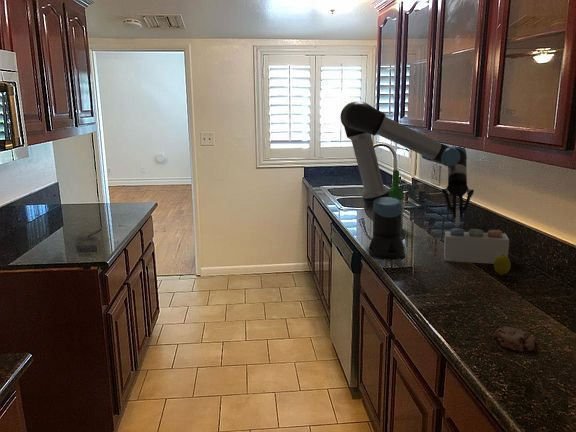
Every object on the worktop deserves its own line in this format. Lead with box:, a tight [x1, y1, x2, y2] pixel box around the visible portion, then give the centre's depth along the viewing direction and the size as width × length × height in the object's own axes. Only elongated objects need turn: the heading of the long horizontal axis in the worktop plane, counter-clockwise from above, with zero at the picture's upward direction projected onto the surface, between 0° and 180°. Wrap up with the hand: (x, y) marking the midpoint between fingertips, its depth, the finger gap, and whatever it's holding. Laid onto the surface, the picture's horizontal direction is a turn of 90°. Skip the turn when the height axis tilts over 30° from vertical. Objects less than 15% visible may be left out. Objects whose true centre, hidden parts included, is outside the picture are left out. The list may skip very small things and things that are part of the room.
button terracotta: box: [487, 229, 503, 238], centre depth 181 cm, size 5×5×6 cm
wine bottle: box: [388, 169, 404, 230], centre depth 231 cm, size 8×8×30 cm
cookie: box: [493, 326, 537, 353], centre depth 120 cm, size 10×11×3 cm
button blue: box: [450, 227, 465, 236], centre depth 185 cm, size 5×5×6 cm
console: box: [443, 230, 510, 265], centre depth 184 cm, size 23×9×10 cm, turn 74°
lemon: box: [493, 254, 512, 276], centre depth 165 cm, size 6×6×8 cm
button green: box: [468, 228, 484, 237], centre depth 183 cm, size 5×5×6 cm
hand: (457, 224), depth 184 cm, fingers closed
